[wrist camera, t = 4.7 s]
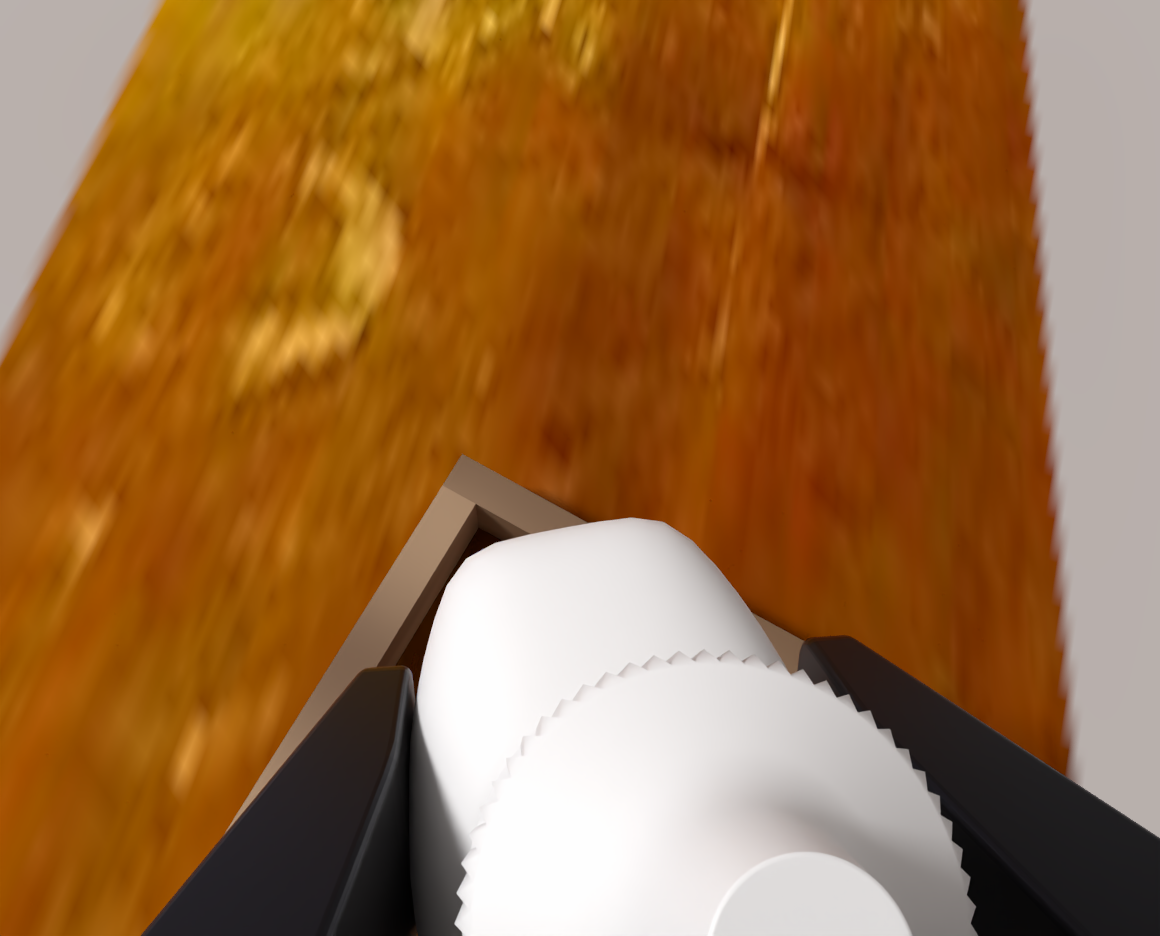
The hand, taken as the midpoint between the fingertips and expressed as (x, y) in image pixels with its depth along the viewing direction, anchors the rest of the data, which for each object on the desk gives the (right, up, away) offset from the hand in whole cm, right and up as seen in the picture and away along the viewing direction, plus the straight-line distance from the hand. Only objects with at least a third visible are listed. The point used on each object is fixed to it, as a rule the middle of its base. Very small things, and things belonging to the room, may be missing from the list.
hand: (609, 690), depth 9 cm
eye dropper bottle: (0, -3, +6) cm, 7 cm away
